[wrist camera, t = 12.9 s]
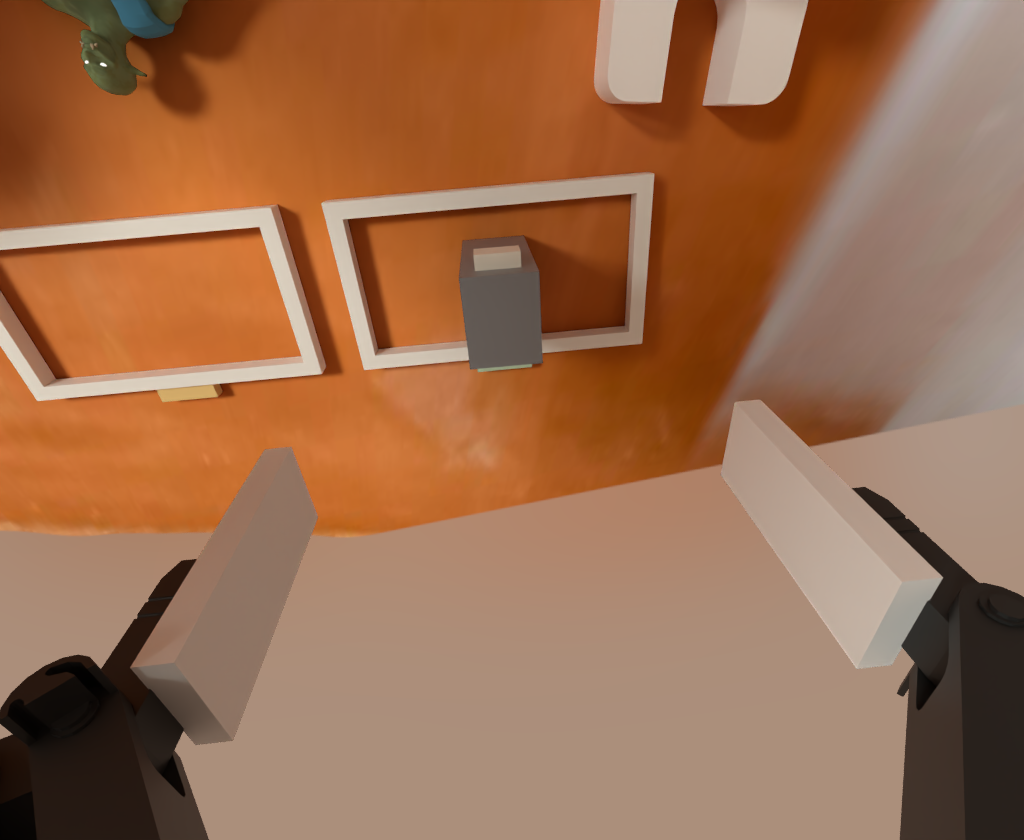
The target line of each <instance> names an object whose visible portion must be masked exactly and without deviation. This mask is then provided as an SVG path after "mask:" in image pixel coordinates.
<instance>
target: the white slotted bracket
mask: <svg viewBox="0 0 1024 840" xmlns="http://www.w3.org/2000/svg"><path fill="white" fill-rule="evenodd" d="M677 1H678V0H601V2H600V14H599V26H598V37H597V49H596V61H595V73H594V86H595V90H596V92H597V94H598V96H599V97H600V98H601V99H602V100H603V101H605V102H607V103H611V104H650V103H660V102H661V100H662V94H663V87H664V80H665V73H666V66H667V59H668V53H669V46H670V39H671V32H672V25H673V19H674V13H675V9H676V5H677ZM714 2H715V4H716V8H717V15H718V19H717V29H716V35H715V40H714V46H713V51H712V57H711V62H710V67H709V73H708V78H707V84H706V89H705V95H704V100H703V105H702V106H743V105H760V104H766V103H769V102H771V101H773V100H774V99H776V98H777V97H778V96H779V95H780V94H781V92H782V91H783V90H784V88H785V86H786V84H787V82H788V78H789V75H790V71H791V67H792V63H793V59H794V55H795V51H796V47H797V43H798V39H799V35H800V32H801V28H802V24H803V20H804V16H805V12H806V8H807V4H808V0H714Z"/></svg>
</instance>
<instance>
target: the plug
mask: <svg viewBox="0 0 1024 840" xmlns="http://www.w3.org/2000/svg"><path fill="white" fill-rule="evenodd" d="M459 283H460V291H461V299H462V307H463V315H464V323H465V332H466V340H467V348H468V356H469V364H470V369H481V368H493V367H504V366H515V365H526V364H538V363H543V360H542V332H541V305H540V277H539V270H538V267H537V265H536V263H535V260H534V258H533V256H532V254H531V251H530V249H529V247H528V244H527V242H526V240H525V237H524V235H523V236H511V237H499V238H487V239H475V240H463V242H462V252H461V262H460V273H459Z"/></svg>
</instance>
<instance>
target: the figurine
mask: <svg viewBox="0 0 1024 840" xmlns="http://www.w3.org/2000/svg"><path fill="white" fill-rule="evenodd" d="M42 1H43V2H44V3H46V4H47V5H48V6H50V7H52V8H54V9H55V10H58V11H61V12H64V13H67V14H69V15H71V16H73V17H75V18H77V19H79V20H81V21H82V22H84V23H85V24H86V25H88V26H89V27H90V28H91V31H89V30H85V29H84V30H82V31H81V40H82V41H80V43H81V47H82V48H83V49H82V53H81V58H82V60H83V61H84V62H85V63H84V68H85V70H86V71H87V73H88V74H89V76H90V77H91V79H92V80H93V82H94V83H95V84H96V85H97V86H98V87H100V88H101V89H103V90H105V91H107V92H109V93H112V94H116V95H129V94H131V93H132V92H133V91H134V90H135V89H136V87H137V78H136V75H139V76H145V77H147V75H146V74H145V73H143V72H141V71H139V70H138V69H136V68H135V67H133V66H132V65H131V64H130V62H129V60H128V58H127V56H126V44H127V42H128V41H129V40H130V38H132V37H133V36H134V35H136V36H139V37H142V38H145V39H147V38H157V37H162V36H166V35H168V34H170V33H172V32H173V30H174V26H175V22H176V21H177V20H178V19H179V18H180V17H181V15H182V10H183V6H184V5H185V4H186V3H187V2H188V0H42Z"/></svg>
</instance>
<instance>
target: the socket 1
mask: <svg viewBox="0 0 1024 840" xmlns="http://www.w3.org/2000/svg"><path fill="white" fill-rule="evenodd" d="M253 227H260V230H261V233H262V236H263V239H264V242H265V245H266V248H267V251H268V254H269V258H270V261H271V264H272V267H273V270H274V273H275V276H276V279H277V282H278V285H279V288H280V291H281V294H282V297H283V300H284V303H285V307H286V310H287V313H288V316H289V319H290V322H291V325H292V328H293V331H294V334H295V337H296V340H297V343H298V346H299V349H300V353H301V356H299V357H288V358H277V359H267V360H256V361H245V362H235V363H224V364H213V365H203V366H192V367H182V368H171V369H160V370H150V371H139V372H128V373H118V374H107V375H96V376H86V377H75V378H65V379H56V378H55V377H54V375H53V373H52V372H51V370H50V369H49V367H48V365H47V364H46V362H45V361H44V359H43V358H42V356H41V354H40V353H39V351H38V350H37V348H36V346H35V345H34V343H33V342H32V340H31V339H30V337H29V335H28V334H27V332H26V331H25V329H24V327H23V326H22V324H21V323H20V321H19V320H18V318H17V316H16V315H15V313H14V312H13V310H12V308H11V307H10V305H9V304H8V302H7V300H6V299H5V297H4V296H3V294H2V293H1V291H0V346H1V347H2V349H3V350H4V352H5V353H6V355H7V356H8V358H9V359H10V361H11V362H12V364H13V365H14V367H15V368H16V370H17V371H18V373H19V374H20V376H21V377H22V379H23V380H24V382H25V383H26V385H27V386H28V388H29V389H30V391H31V392H32V394H33V395H34V397H35V398H36V400H37V401H42V400H53V399H63V398H74V397H85V396H95V395H106V394H116V393H127V392H137V391H148V390H157V392H158V394H159V396H160V398H161V400H162V402H169V401H179V400H190V399H200V398H211V397H218V396H219V395H220V394H221V393H222V392H223V391H222V389H221V386H220V384H222V383H232V382H243V381H253V380H264V379H275V378H285V377H296V376H306V375H317V374H322V373H323V372H324V370H325V368H326V364H325V361H324V357H323V354H322V351H321V347H320V344H319V341H318V337H317V334H316V331H315V327H314V324H313V321H312V317H311V314H310V311H309V307H308V304H307V301H306V297H305V294H304V291H303V287H302V284H301V281H300V277H299V274H298V271H297V268H296V264H295V261H294V258H293V254H292V251H291V248H290V244H289V241H288V238H287V234H286V231H285V228H284V224H283V221H282V218H281V214H280V211H279V208H278V205H268V206H257V207H245V208H234V209H223V210H211V211H200V212H189V213H177V214H166V215H155V216H144V217H132V218H121V219H110V220H98V221H87V222H76V223H64V224H53V225H42V226H30V227H19V228H8V229H0V250H6V249H17V248H29V247H40V246H51V245H62V244H73V243H85V242H96V241H107V240H118V239H129V238H141V237H152V236H163V235H174V234H185V233H197V232H208V231H219V230H230V229H242V228H253Z"/></svg>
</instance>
